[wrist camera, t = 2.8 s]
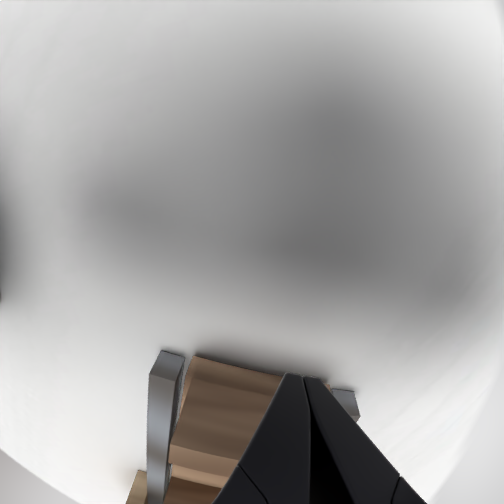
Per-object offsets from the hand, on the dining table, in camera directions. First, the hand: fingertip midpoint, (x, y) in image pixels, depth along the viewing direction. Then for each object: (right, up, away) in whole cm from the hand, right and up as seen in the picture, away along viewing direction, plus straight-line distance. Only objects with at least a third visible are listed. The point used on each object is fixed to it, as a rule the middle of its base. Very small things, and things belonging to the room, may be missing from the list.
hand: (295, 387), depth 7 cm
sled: (-2, -7, +9) cm, 12 cm away
